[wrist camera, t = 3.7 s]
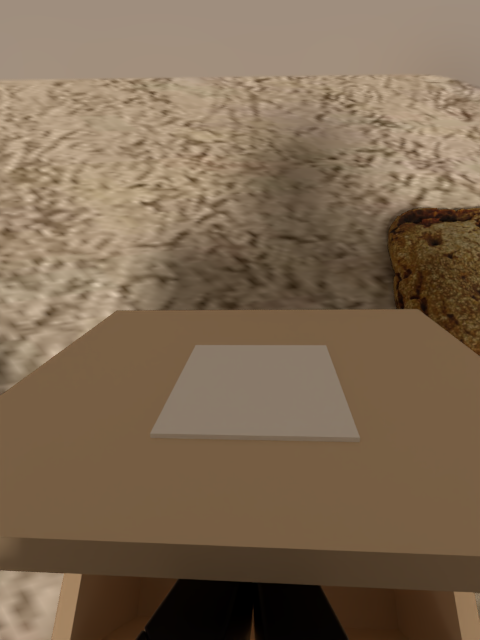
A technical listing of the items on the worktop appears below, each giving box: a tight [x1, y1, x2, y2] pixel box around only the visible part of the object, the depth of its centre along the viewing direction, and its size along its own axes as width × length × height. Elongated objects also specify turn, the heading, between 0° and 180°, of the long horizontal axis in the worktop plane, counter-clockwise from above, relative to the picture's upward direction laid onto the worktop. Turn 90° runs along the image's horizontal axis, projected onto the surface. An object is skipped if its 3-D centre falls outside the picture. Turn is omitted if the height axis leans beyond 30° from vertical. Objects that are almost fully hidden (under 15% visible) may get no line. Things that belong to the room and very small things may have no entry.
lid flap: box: [0, 309, 480, 593], centre depth 11 cm, size 12×12×1 cm
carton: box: [51, 573, 480, 640], centre depth 18 cm, size 12×13×8 cm
